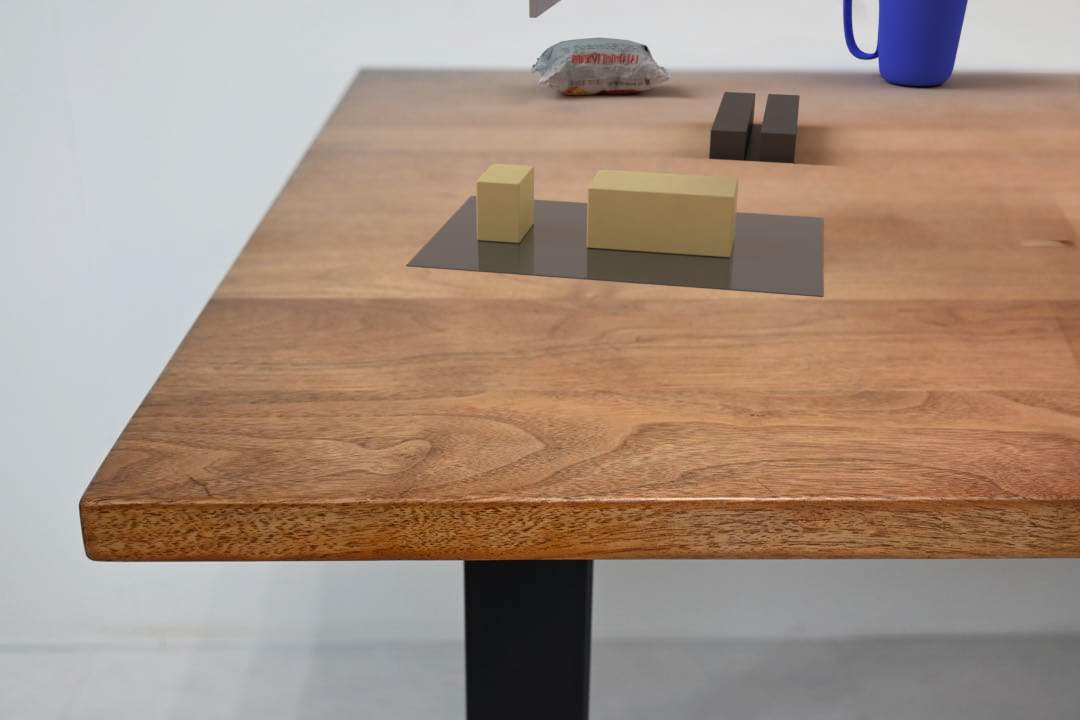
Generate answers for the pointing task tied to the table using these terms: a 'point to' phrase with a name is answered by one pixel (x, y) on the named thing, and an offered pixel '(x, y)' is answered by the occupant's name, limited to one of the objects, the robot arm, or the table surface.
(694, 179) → the butter stick
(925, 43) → the mug
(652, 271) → the butter board
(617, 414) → the table surface
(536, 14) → the scraper knife
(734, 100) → the knife holder
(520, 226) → the butter slice
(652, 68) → the packaged food
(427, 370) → the table surface
